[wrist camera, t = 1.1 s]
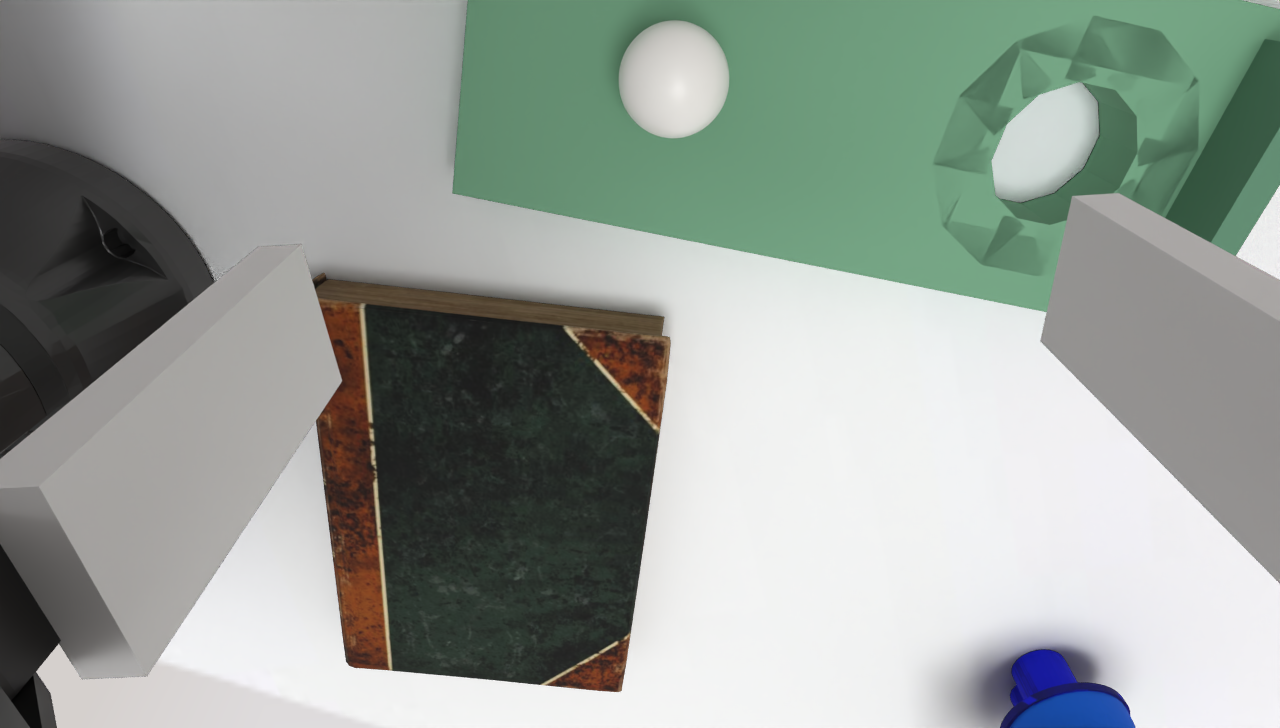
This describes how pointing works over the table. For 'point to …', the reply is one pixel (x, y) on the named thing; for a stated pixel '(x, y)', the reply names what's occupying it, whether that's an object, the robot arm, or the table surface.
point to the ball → (673, 79)
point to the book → (488, 481)
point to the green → (878, 126)
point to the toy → (1060, 697)
